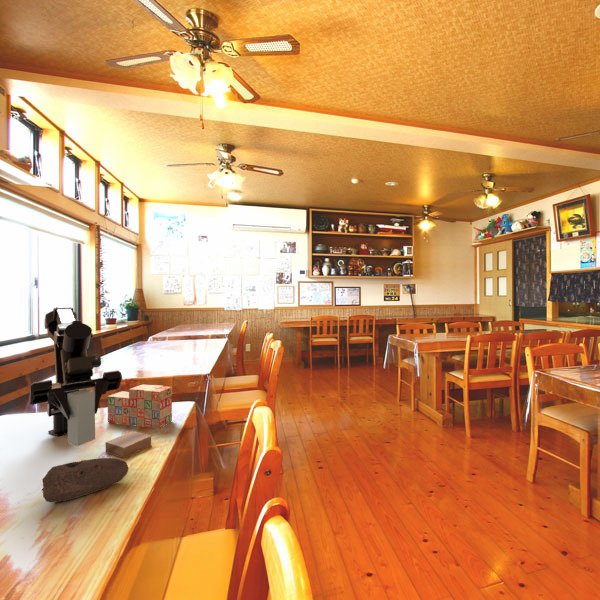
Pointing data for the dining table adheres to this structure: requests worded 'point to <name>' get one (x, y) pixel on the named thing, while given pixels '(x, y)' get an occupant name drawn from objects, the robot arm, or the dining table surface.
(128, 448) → the base block
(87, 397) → the column
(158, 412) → the stack of blocks
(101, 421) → the dining table surface
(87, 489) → the perforated stone tool
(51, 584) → the dining table surface
